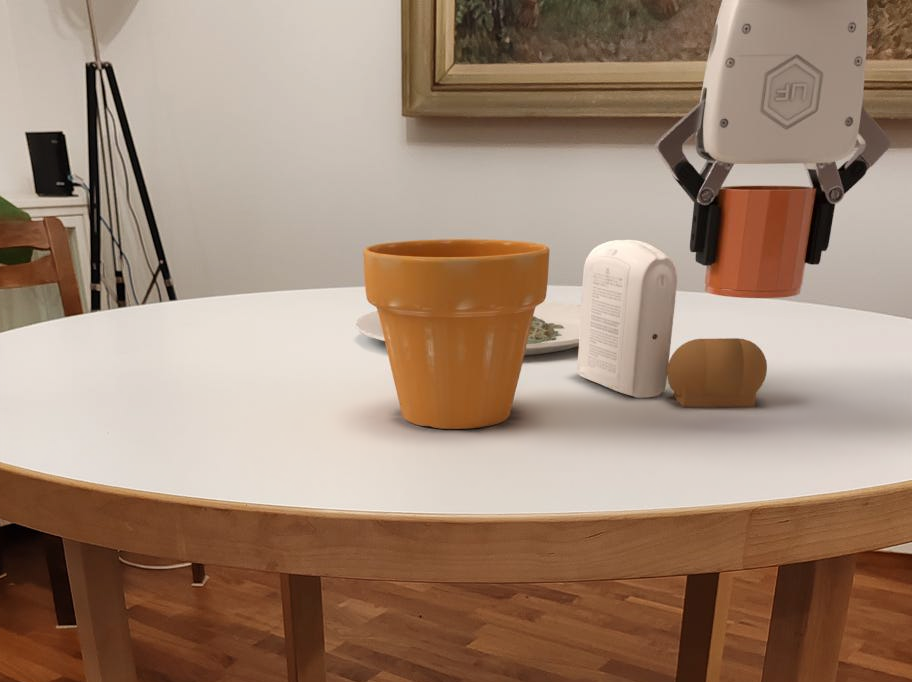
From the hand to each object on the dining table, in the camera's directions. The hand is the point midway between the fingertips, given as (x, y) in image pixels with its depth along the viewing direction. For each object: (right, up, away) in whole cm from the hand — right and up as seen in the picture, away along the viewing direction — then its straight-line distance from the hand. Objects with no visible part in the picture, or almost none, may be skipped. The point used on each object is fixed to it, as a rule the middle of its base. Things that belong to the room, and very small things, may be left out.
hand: (756, 260), depth 72 cm
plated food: (-17, +7, +40) cm, 44 cm away
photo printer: (-7, -5, +18) cm, 20 cm away
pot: (0, -2, +1) cm, 2 cm away
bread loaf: (0, -7, +12) cm, 14 cm away
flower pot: (-22, -9, +9) cm, 25 cm away
